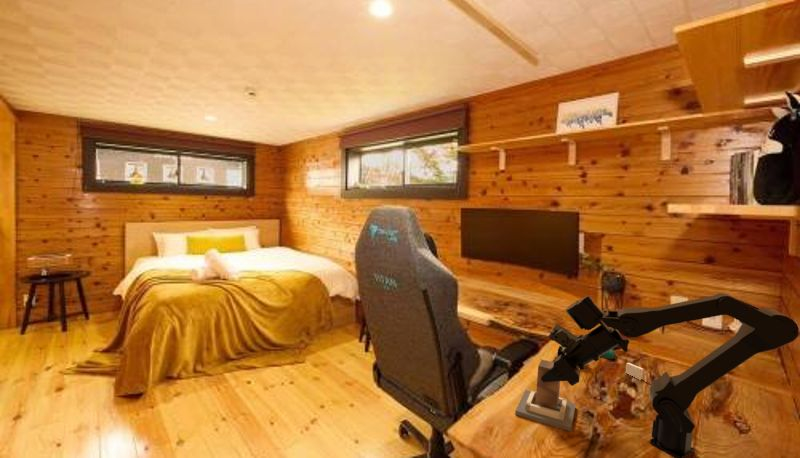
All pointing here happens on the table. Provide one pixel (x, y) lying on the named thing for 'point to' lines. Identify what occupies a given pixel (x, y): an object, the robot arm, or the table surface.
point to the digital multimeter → (609, 354)
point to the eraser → (634, 371)
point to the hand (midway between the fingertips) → (543, 376)
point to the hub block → (546, 387)
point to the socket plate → (546, 411)
